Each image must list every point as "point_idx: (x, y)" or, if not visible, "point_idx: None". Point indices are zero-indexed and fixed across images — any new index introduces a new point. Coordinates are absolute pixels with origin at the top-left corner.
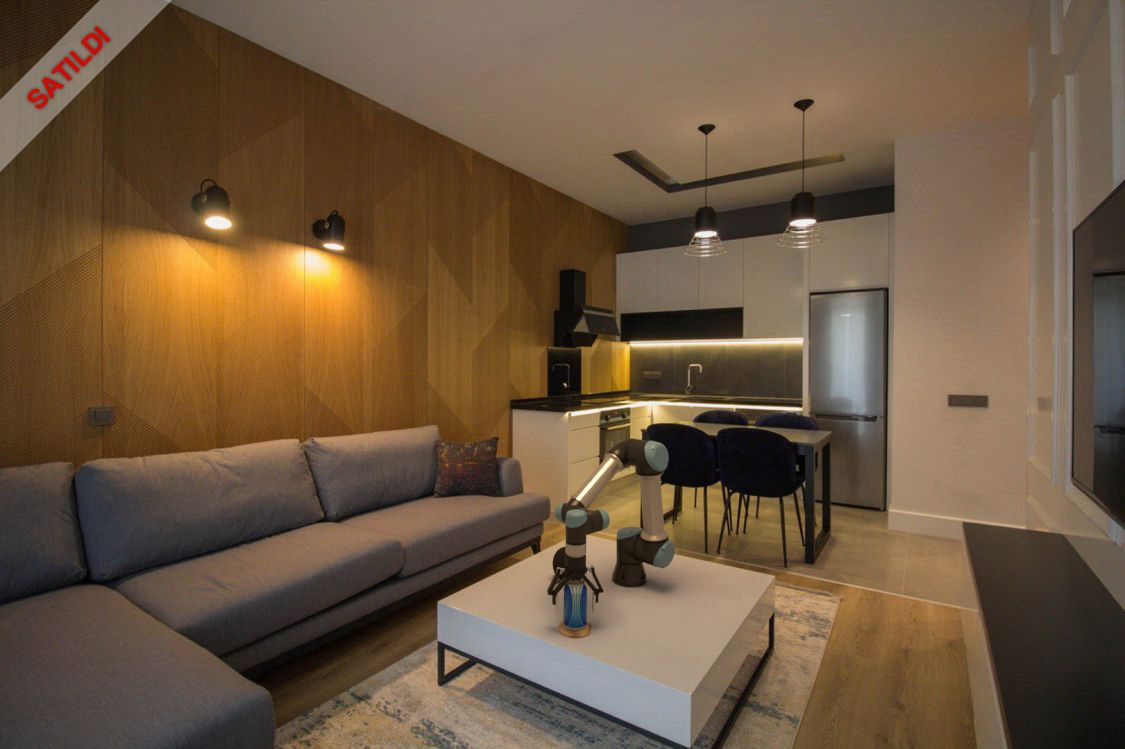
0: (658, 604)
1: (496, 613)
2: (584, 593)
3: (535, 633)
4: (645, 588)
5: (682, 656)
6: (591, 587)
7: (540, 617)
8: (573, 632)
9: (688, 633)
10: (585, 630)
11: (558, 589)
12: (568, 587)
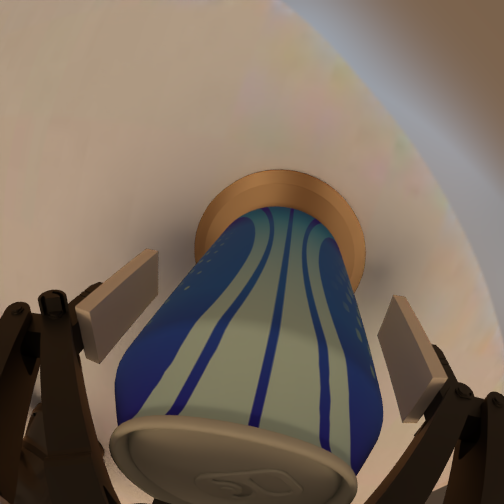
0: None
1: None
2: (154, 323)
3: (456, 271)
4: (35, 390)
5: (8, 29)
6: (61, 367)
7: (382, 378)
8: (307, 202)
9: None
10: (236, 205)
11: (447, 433)
12: (358, 446)
